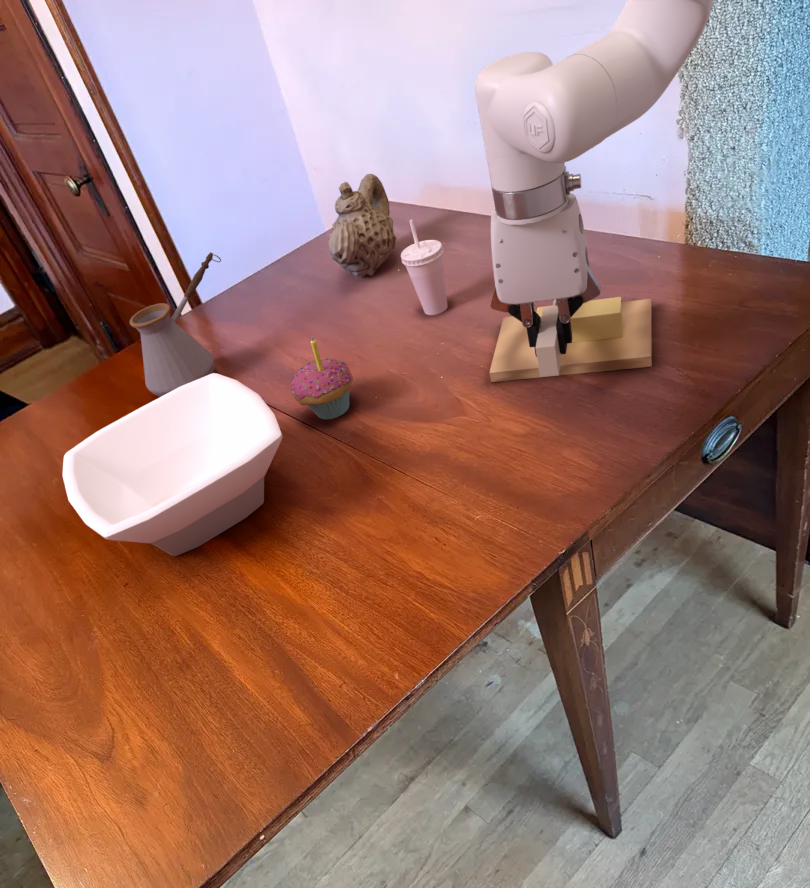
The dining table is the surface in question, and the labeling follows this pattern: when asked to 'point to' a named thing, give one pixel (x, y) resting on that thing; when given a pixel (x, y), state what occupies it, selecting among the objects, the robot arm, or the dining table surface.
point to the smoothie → (426, 272)
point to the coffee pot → (171, 344)
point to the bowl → (176, 466)
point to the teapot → (362, 227)
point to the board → (577, 348)
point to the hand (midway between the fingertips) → (551, 348)
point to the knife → (548, 343)
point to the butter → (598, 320)
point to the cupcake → (323, 386)
